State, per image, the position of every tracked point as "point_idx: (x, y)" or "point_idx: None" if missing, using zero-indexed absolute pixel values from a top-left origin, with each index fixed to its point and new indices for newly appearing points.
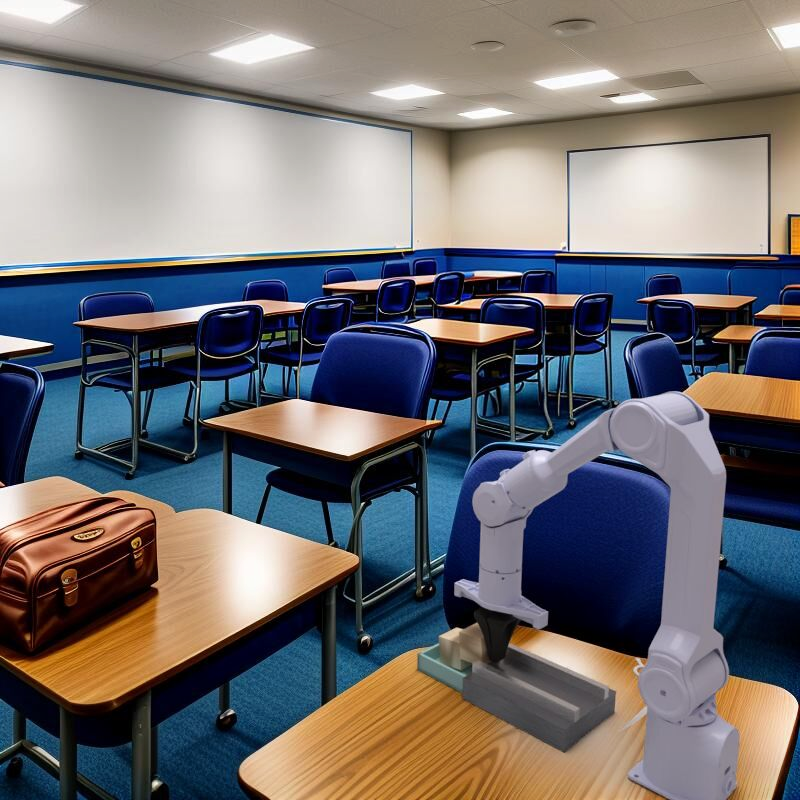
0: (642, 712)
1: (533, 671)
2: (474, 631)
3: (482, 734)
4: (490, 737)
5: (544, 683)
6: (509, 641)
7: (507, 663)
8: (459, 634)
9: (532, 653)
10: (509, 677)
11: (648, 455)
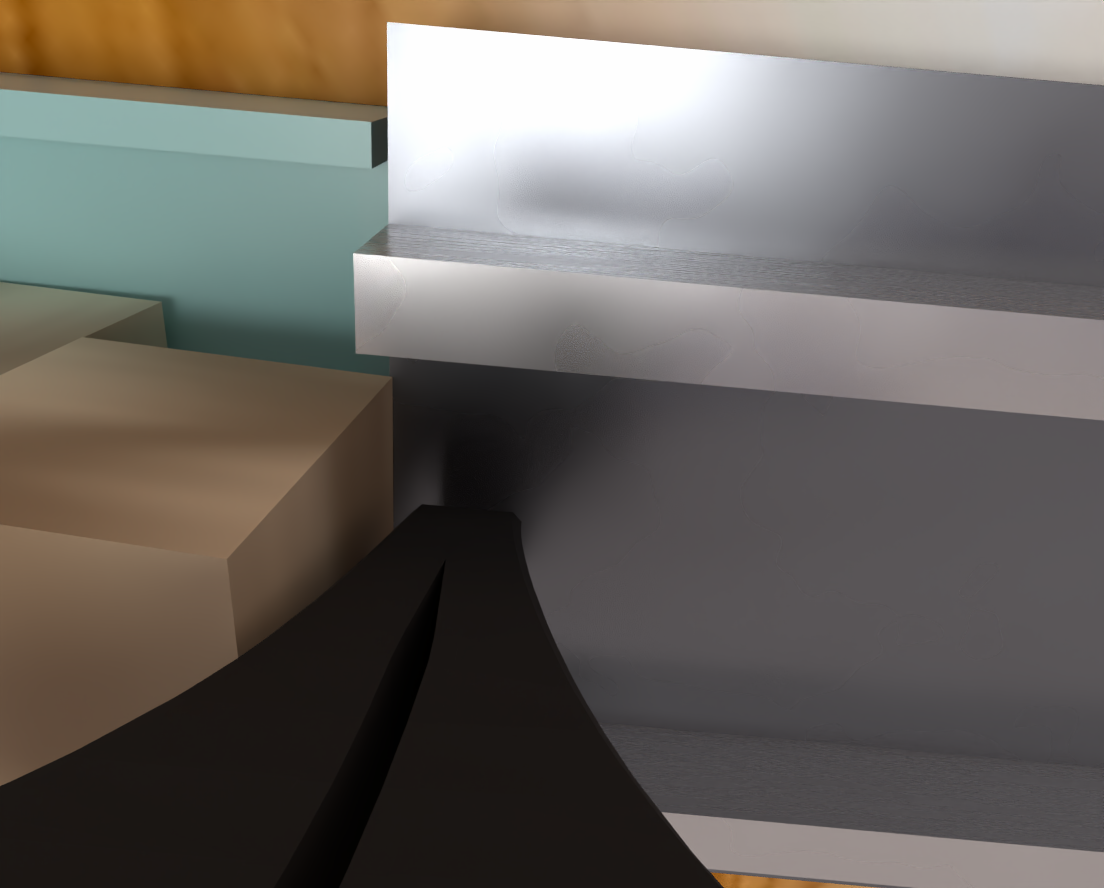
0: None
1: (859, 414)
2: (17, 755)
3: (735, 883)
4: (786, 881)
5: (1046, 534)
6: (544, 623)
7: (538, 443)
8: None
9: (801, 302)
10: (800, 853)
11: None
